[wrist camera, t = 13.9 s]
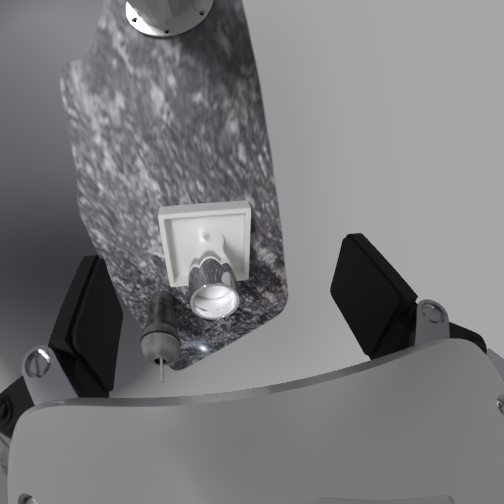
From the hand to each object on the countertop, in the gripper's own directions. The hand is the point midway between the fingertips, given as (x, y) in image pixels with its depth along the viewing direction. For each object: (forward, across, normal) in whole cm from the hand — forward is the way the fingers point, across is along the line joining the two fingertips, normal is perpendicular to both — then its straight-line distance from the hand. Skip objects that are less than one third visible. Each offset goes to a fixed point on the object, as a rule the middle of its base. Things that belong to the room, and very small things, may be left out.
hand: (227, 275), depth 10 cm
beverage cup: (+34, +10, +32) cm, 47 cm away
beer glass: (+33, 0, +19) cm, 38 cm away
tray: (+33, 0, +19) cm, 38 cm away
